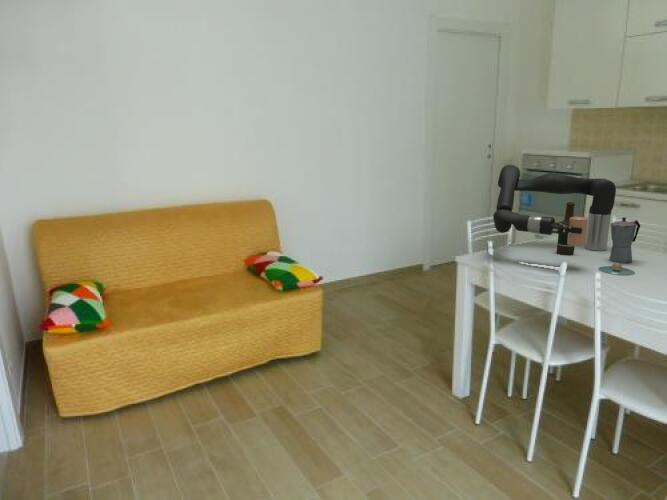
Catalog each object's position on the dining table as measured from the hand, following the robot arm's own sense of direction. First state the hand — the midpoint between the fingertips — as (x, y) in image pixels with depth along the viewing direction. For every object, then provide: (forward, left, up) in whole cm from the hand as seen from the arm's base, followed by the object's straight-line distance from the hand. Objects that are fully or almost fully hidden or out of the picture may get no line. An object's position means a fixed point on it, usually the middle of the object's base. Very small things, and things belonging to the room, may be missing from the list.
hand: (583, 229), depth 199 cm
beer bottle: (-27, -2, -18) cm, 32 cm away
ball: (-1, +14, -17) cm, 22 cm away
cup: (-1, -2, -7) cm, 7 cm away
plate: (-1, +14, -17) cm, 22 cm away
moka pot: (-18, +19, -18) cm, 31 cm away
